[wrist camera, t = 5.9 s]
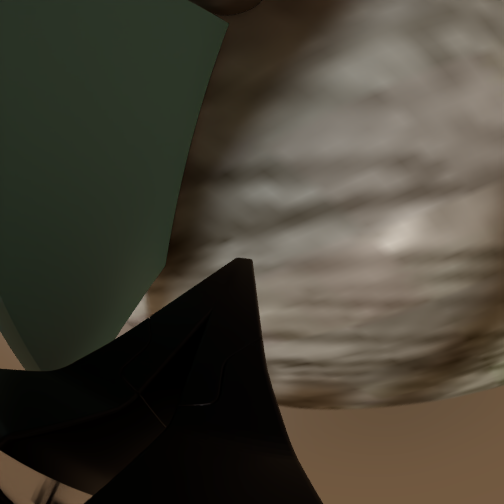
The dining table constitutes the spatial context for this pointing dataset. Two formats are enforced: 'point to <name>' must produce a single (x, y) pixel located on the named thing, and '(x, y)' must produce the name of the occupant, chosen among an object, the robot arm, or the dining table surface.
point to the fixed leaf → (226, 6)
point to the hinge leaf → (91, 161)
